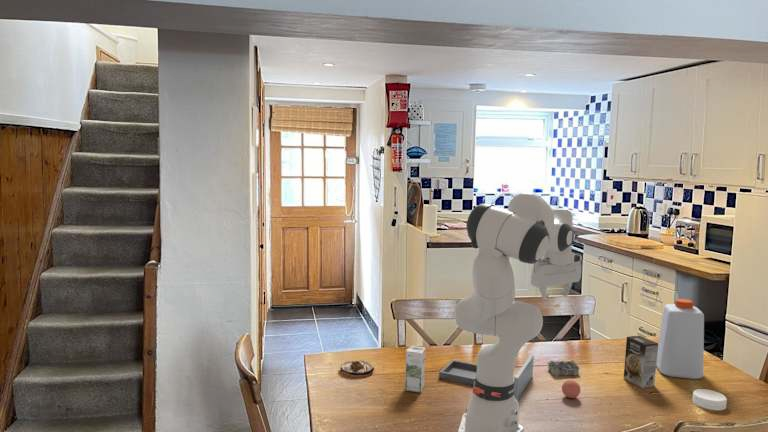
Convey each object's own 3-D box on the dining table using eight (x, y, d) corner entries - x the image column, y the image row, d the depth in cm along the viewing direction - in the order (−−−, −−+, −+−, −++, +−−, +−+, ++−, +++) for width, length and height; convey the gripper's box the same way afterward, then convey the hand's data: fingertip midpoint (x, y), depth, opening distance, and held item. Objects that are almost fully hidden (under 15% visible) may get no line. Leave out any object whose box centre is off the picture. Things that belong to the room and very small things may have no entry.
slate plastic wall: (516, 401, 191) (518, 378, 190) (513, 400, 192) (514, 377, 191) (532, 376, 213) (533, 355, 212) (529, 375, 213) (530, 354, 212)
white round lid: (695, 395, 200) (696, 385, 199) (728, 404, 193) (729, 394, 193) (689, 405, 192) (690, 395, 192) (723, 414, 186) (724, 404, 185)
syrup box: (424, 386, 201) (425, 346, 199) (420, 393, 195) (422, 352, 194) (408, 384, 203) (409, 344, 201) (404, 391, 197) (405, 350, 195)
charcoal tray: (476, 386, 203) (476, 379, 202) (439, 378, 209) (439, 371, 208) (487, 372, 215) (487, 366, 215) (452, 365, 221) (452, 359, 221)
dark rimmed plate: (381, 378, 208) (381, 367, 208) (340, 382, 205) (341, 370, 204) (372, 363, 223) (372, 353, 222) (334, 366, 219) (334, 356, 218)
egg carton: (552, 376, 214) (552, 366, 213) (546, 368, 221) (546, 358, 221) (580, 376, 214) (581, 366, 213) (573, 369, 221) (574, 358, 221)
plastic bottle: (661, 376, 215) (667, 304, 212) (652, 362, 230) (658, 294, 226) (705, 381, 212) (712, 307, 208) (694, 366, 226) (700, 297, 223)
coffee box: (622, 378, 213) (625, 336, 211) (636, 376, 215) (639, 334, 213) (641, 388, 204) (645, 344, 202) (655, 386, 206) (659, 342, 204)
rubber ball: (578, 402, 191) (579, 385, 190) (559, 398, 194) (561, 381, 193) (581, 396, 196) (582, 379, 196) (562, 392, 199) (564, 375, 198)
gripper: (541, 261, 184) (539, 303, 186) (585, 256, 194) (583, 295, 196) (527, 257, 189) (525, 298, 191) (570, 252, 200) (568, 291, 201)
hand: (555, 297), depth 194 cm, fingers open, 8 cm apart
